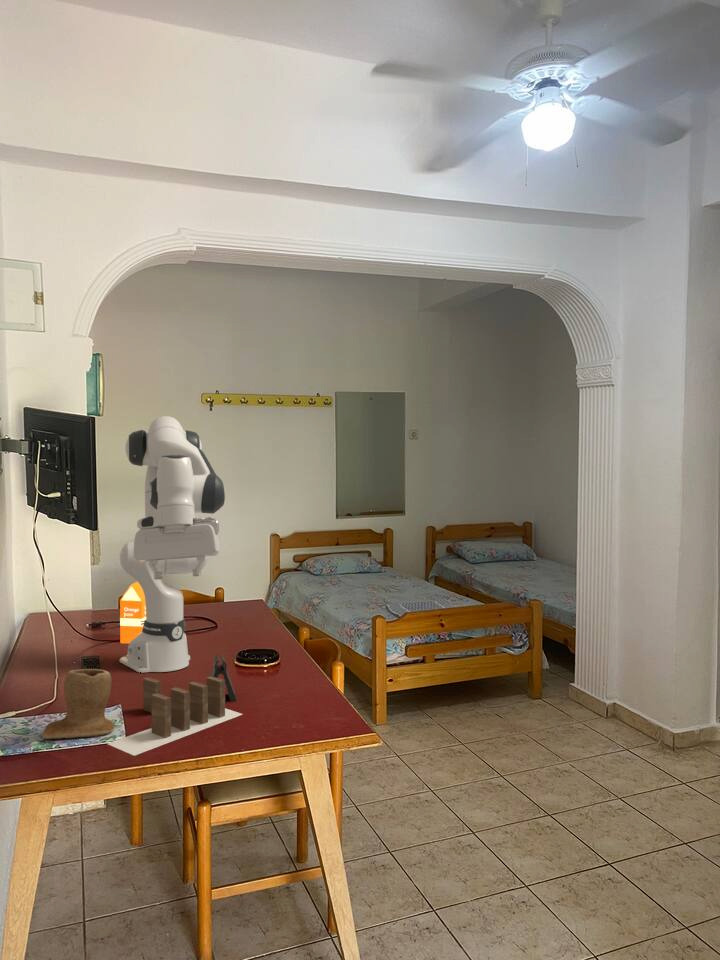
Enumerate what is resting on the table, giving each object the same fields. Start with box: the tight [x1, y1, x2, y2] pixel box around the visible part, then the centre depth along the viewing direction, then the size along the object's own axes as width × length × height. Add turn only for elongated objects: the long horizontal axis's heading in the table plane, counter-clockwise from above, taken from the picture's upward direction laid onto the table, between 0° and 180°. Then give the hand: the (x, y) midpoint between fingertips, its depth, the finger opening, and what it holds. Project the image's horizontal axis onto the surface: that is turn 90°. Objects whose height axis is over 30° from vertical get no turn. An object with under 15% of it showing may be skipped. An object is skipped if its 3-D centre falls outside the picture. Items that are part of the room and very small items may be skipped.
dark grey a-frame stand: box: [209, 654, 238, 703], centre depth 200 cm, size 9×6×12 cm, turn 104°
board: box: [107, 707, 243, 757], centre depth 180 cm, size 10×32×1 cm, turn 142°
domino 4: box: [188, 681, 208, 724], centre depth 184 cm, size 2×5×9 cm, turn 52°
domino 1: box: [142, 676, 162, 714], centre depth 191 cm, size 2×5×9 cm, turn 52°
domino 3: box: [170, 687, 190, 731], centre depth 180 cm, size 2×5×9 cm, turn 52°
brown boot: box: [42, 668, 115, 740], centre depth 178 cm, size 15×12×15 cm
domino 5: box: [206, 676, 226, 718], centre depth 189 cm, size 2×5×9 cm, turn 52°
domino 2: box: [151, 693, 171, 738], centre depth 176 cm, size 2×5×9 cm, turn 52°
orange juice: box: [119, 581, 146, 645], centre depth 260 cm, size 8×9×20 cm
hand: (177, 577), depth 180 cm, fingers open, 8 cm apart
